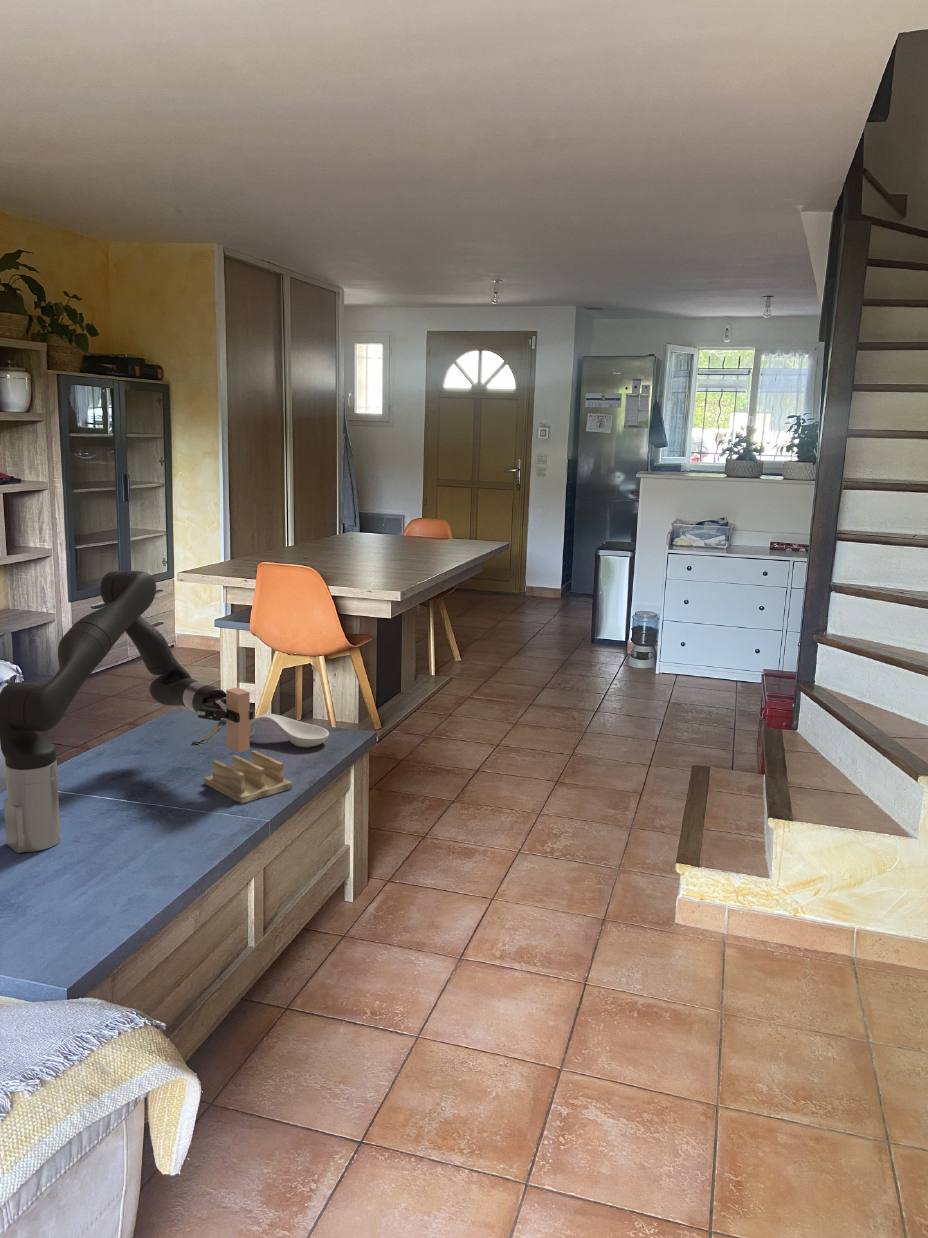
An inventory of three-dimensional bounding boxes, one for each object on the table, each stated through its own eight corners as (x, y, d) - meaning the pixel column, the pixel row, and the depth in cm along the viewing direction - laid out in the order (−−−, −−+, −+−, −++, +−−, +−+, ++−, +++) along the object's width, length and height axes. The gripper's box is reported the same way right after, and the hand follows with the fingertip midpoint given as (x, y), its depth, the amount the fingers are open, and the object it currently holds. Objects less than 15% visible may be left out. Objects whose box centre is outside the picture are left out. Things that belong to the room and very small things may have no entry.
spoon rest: (334, 740, 253) (335, 715, 252) (320, 754, 242) (320, 728, 240) (255, 731, 257) (255, 707, 256) (237, 744, 246) (237, 719, 245)
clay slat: (238, 752, 211) (238, 694, 208) (226, 746, 214) (226, 689, 211) (249, 749, 213) (249, 692, 210) (237, 744, 216) (237, 687, 213)
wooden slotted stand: (241, 803, 207) (241, 778, 206) (204, 783, 217) (204, 759, 216) (292, 788, 217) (292, 764, 216) (253, 769, 228) (253, 747, 226)
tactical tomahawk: (214, 750, 243) (215, 746, 243) (191, 746, 244) (191, 742, 243) (242, 725, 263) (243, 721, 263) (220, 721, 264) (221, 718, 264)
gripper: (178, 690, 215) (218, 707, 204) (230, 680, 225) (270, 696, 214) (179, 720, 217) (218, 738, 205) (230, 709, 227) (270, 726, 216)
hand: (245, 716), depth 210 cm, fingers closed on clay slat, 3 cm apart
